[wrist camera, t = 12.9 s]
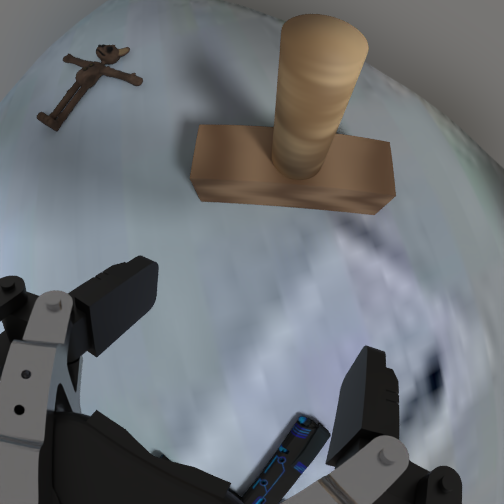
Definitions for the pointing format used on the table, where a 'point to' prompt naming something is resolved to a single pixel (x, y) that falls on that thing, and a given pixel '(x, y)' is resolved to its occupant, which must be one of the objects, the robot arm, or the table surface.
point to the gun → (286, 463)
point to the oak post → (313, 90)
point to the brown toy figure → (88, 81)
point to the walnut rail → (285, 189)
